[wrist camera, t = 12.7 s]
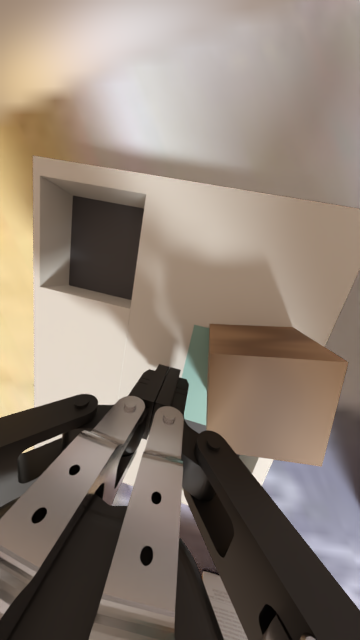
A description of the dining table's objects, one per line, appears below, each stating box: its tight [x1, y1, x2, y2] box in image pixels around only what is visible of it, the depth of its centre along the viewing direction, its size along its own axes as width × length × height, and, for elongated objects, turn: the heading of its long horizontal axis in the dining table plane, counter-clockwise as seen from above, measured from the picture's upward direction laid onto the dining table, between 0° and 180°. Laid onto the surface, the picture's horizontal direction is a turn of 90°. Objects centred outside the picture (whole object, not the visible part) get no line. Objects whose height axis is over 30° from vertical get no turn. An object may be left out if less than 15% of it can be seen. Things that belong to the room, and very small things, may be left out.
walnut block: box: [206, 324, 348, 466], centre depth 10 cm, size 5×5×4 cm
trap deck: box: [33, 156, 360, 505], centre depth 14 cm, size 20×24×3 cm
